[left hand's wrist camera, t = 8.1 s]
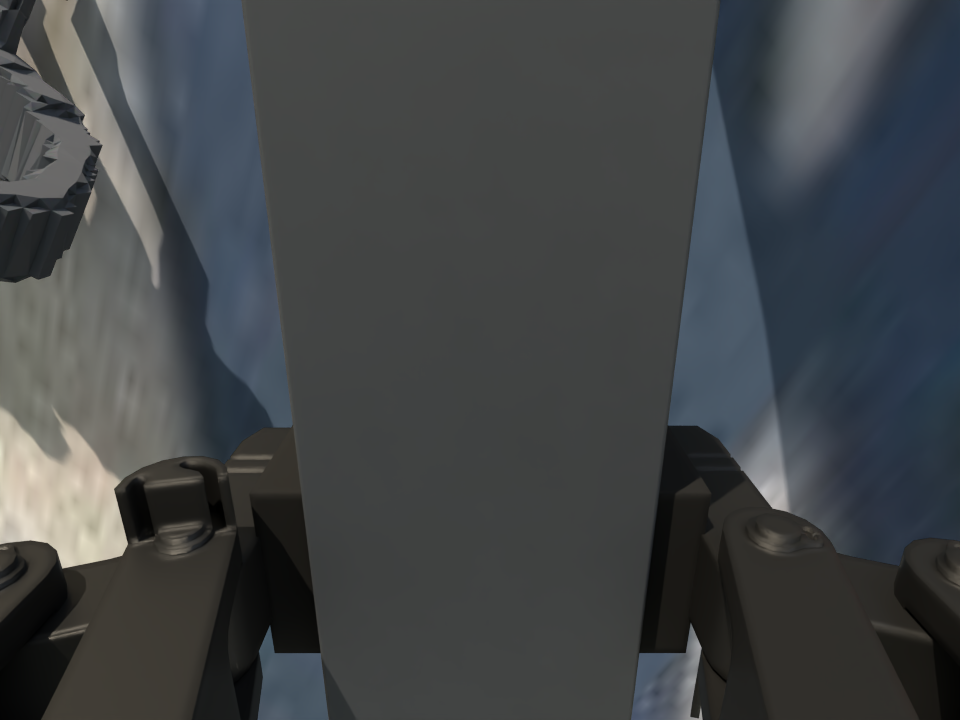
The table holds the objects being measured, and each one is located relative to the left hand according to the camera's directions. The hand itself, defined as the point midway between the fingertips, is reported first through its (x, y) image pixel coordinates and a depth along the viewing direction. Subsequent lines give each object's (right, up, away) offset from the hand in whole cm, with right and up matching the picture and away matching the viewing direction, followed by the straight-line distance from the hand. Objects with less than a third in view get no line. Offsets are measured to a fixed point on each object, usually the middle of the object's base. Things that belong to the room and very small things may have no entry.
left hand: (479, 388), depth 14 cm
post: (0, -22, +9) cm, 23 cm away
